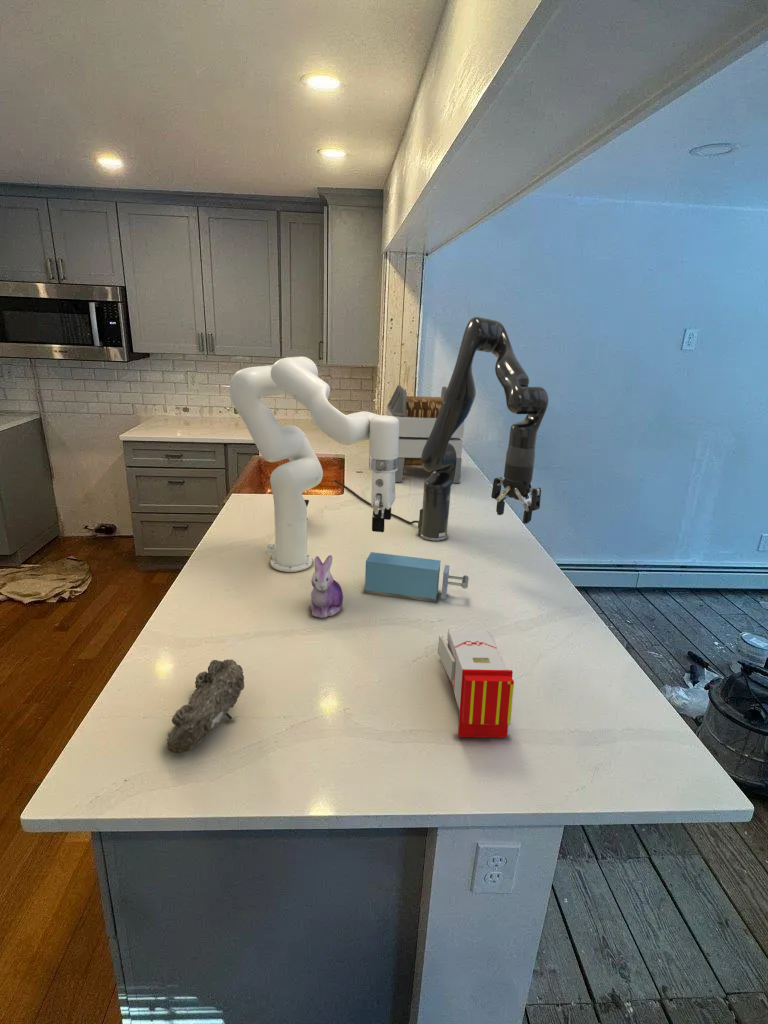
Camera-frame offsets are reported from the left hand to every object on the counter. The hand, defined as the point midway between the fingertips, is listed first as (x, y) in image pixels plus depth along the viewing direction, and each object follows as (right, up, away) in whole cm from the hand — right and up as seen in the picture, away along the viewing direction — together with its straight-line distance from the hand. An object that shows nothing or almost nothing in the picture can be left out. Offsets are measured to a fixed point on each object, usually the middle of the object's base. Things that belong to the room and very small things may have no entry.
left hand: (381, 525), depth 153 cm
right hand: (+36, +2, +4) cm, 37 cm away
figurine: (-14, -22, -6) cm, 27 cm away
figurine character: (-30, -1, +51) cm, 59 cm away
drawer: (+11, -19, +4) cm, 22 cm away
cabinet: (+6, -19, +6) cm, 20 cm away
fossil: (-32, -36, -45) cm, 66 cm away
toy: (+19, -34, -35) cm, 52 cm away
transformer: (+18, +22, +122) cm, 125 cm away
